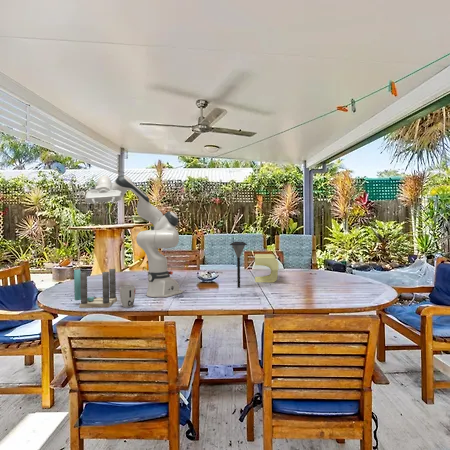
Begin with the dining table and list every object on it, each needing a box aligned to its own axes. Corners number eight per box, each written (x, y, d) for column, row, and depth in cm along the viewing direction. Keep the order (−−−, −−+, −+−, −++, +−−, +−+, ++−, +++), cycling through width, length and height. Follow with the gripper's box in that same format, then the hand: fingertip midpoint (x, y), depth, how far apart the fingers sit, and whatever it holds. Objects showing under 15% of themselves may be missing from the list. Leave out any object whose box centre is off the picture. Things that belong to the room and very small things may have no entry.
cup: (129, 308, 177) (129, 289, 177) (116, 307, 180) (116, 288, 180) (138, 305, 184) (138, 286, 184) (126, 303, 187) (126, 285, 187)
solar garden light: (245, 289, 221) (244, 242, 220) (227, 288, 225) (226, 242, 224) (250, 286, 232) (249, 241, 232) (232, 285, 236) (232, 241, 236)
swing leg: (95, 299, 187) (94, 270, 186) (91, 301, 184) (90, 270, 183) (77, 298, 189) (76, 269, 189) (73, 300, 186) (72, 270, 186)
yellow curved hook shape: (278, 284, 237) (278, 258, 237) (255, 284, 238) (254, 258, 238) (275, 277, 267) (275, 254, 267) (255, 277, 268) (254, 254, 268)
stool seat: (89, 300, 196) (88, 268, 195) (117, 300, 196) (116, 268, 195) (78, 307, 180) (77, 273, 180) (108, 307, 180) (107, 272, 180)
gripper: (121, 194, 219) (122, 206, 209) (87, 197, 214) (86, 209, 204) (120, 186, 216) (121, 197, 205) (85, 188, 211) (84, 200, 200)
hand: (103, 203), depth 204 cm, fingers open, 8 cm apart
